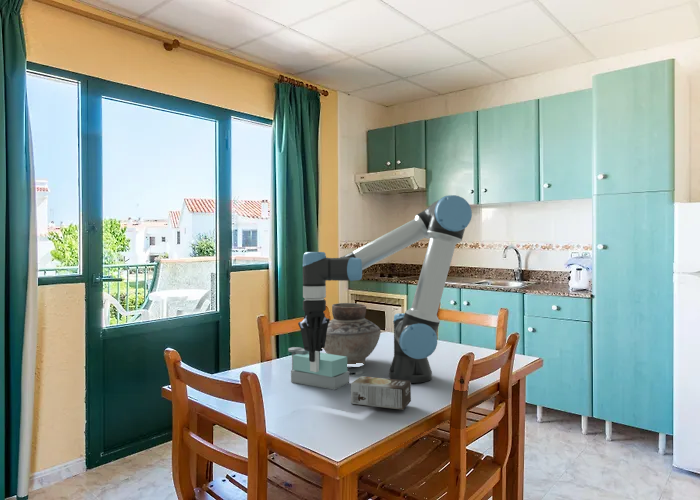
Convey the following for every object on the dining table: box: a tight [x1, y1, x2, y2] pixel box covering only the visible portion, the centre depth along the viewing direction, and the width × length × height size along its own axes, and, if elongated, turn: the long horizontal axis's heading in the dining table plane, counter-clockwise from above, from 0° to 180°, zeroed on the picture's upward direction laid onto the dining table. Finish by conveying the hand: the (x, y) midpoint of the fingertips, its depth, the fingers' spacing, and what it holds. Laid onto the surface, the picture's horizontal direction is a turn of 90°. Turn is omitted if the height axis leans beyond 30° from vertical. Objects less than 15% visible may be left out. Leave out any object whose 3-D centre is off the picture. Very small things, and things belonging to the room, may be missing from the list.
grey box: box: [290, 352, 350, 390], centre depth 165 cm, size 21×9×10 cm, turn 59°
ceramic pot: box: [321, 302, 382, 366], centre depth 189 cm, size 25×25×24 cm
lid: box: [287, 346, 348, 377], centre depth 164 cm, size 22×9×6 cm, turn 54°
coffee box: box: [350, 375, 412, 411], centre depth 142 cm, size 9×6×16 cm
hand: (314, 371), depth 156 cm, fingers closed
